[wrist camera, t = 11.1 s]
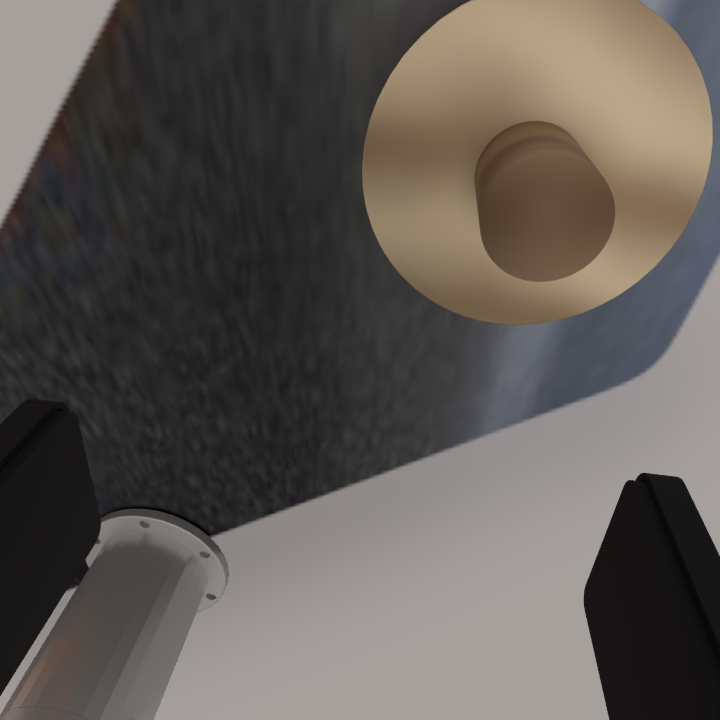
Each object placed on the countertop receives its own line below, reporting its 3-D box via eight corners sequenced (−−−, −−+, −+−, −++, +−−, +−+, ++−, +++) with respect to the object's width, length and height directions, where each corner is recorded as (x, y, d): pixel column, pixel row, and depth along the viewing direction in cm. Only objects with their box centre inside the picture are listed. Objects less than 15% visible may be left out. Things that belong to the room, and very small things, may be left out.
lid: (648, 328, 27) (693, 407, 22) (359, 303, 28) (339, 373, 23) (759, -13, 20) (860, -9, 15) (371, -29, 21) (347, -29, 16)
